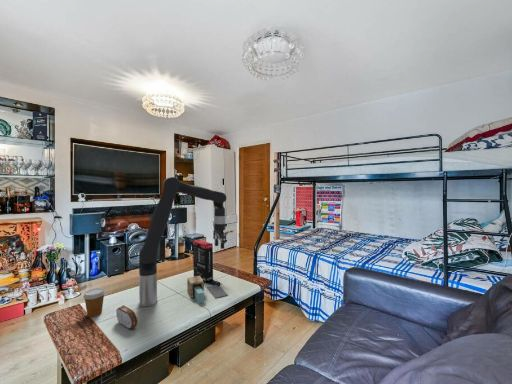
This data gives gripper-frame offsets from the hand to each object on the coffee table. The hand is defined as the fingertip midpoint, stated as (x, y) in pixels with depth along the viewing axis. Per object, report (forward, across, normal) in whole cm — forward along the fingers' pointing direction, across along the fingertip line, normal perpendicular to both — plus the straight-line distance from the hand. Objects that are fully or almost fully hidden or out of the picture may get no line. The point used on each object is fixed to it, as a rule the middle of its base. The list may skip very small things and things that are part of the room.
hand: (219, 247), depth 158 cm
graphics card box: (+28, -23, -2) cm, 36 cm away
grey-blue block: (+28, +5, -17) cm, 33 cm away
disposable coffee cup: (+28, -9, -68) cm, 74 cm away
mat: (+28, +3, -3) cm, 28 cm away
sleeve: (+28, -2, -16) cm, 32 cm away
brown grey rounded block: (+28, +12, -56) cm, 64 cm away
